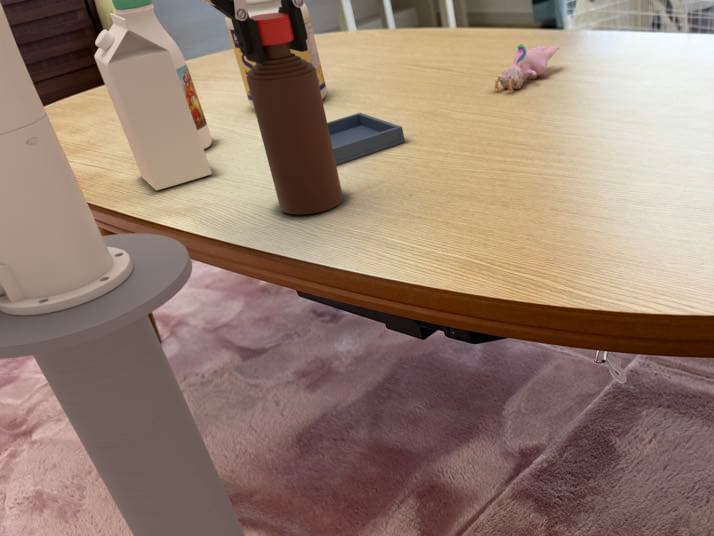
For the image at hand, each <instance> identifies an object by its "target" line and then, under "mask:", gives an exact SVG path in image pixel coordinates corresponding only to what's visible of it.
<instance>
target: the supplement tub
mask: <svg viewBox="0 0 714 536" xmlns="http://www.w3.org/2000/svg"><path fill="white" fill-rule="evenodd" d="M246 4H247V12H248V14H249V17H252V16H256V15H261V14H268V13H279V12H278V10H279V7H282V5H281V0H246ZM300 8H301V12H302V16H303V20H304V24H305V28H306V32H307V37H308V38H307V40H306V43H307V47H308V50H307V51H304V52H300V51H296V50H291V49H290V51H291V53H294V54H295V55H296V56H299V57H301V59H304V60H306V61H307V62H309V63H312V65H313V67H315V68H316V73H317V77H318V82H319V87H320V91H321V96H322V100H323V99H324V98H326V95H327V84H326V80H325V76H324V71H323V68H322V62H321V59H320V55H319V50H318V47H317V46H318V45H317V43H316V38H315V33H314V29H313V25H312V22H311V21H312V20H311V17H310V11H309V9H308V6H307V5H306V3H305V2H304V5H303V6H302V7H300ZM224 19H225V25H226V28H227V32H228V35H229V39H230V43H231V45H232V48H233V52H234V56H235V59H236V62H237V65H238V69H239V73H240V76H241V79H242V83H243V86H244V89H245V93H246V96H247V101H248V102H249V105H250V106H251V107H252V108H253V109H254V105H253V101H252V97H251V93H250V90H249V86H248V82H247V75H248V71H249V70H251V69H252V67H253V66H255V65H256V62H252V61H248V60H247V58H246V55H243V54H242V52H241V50H240V48H239V44H238V41H237V38H236V34H235V31H234V27H233V24H232V21H231V19H229V18H227V17H226V16H225V15H224Z"/></svg>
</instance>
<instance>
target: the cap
mask: <svg viewBox="0 0 714 536" xmlns="http://www.w3.org/2000/svg"><path fill="white" fill-rule="evenodd" d="M249 18H250V19H253V20H255V22H256V25H257V29H258V33H259V36H260V40H261V43H262V46H265V45H276V44H282V43H286V42H290V41H292V40H294V35H293V31H292V26H291V22H290V18H289V14H288V13H268V14H261V15H256V16H252V17H249Z"/></svg>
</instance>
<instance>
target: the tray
mask: <svg viewBox="0 0 714 536" xmlns="http://www.w3.org/2000/svg"><path fill="white" fill-rule="evenodd" d="M327 124H328V129H329V134H330V139H331V143H332V148H333V153H334V157H335V162H336V166H337V165H341V164H343V163H347V162H349V161H352V160H355V159H358V158H361V157H365V156H367V155H370V154H373V153H375V152H379V151H382V150H385V149H388V148H391V147H394V146H396V145H397V146H398V145H399V144H402V143H406V140H405V135H404V130H403V126H401V125H398V124H395V123H392V122H390V121H386V120H383V119H380V118H378V117H375V116H371V115H368V114H365V113H362V112H357V113H353V114H351V115H347V116H344V117H342V118H338V119H335V120H331V121H327Z"/></svg>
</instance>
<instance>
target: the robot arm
mask: <svg viewBox="0 0 714 536" xmlns="http://www.w3.org/2000/svg"><path fill="white" fill-rule="evenodd" d="M200 1H202V2H204V3H206V4H209V5H210V7H213V8H214V9H216V10H217V11H219V12H220V13H221V14H223V15H224V17H225V16H226V17H227V18H229V19H231V21H232V24H233V27H234V31H235V34H236V38H237V41H238V44H239V48H240V50H241V52H242V54H243V55H246V58H247V60H248V61H252V62H256V63H263V62H265V60H266V57H265V54H264V50H263V47H262V43H261V40H260V36H259V33H258V29H257V25H256V22H255V20H253V19H250V18H249V14H248V12H247V4H246V0H200ZM304 3H305V0H281V5H282V7H279V10H278V12H279V13H288V14H289V18H290V22H291V26H292V31H293V35H294V40H292V41H290V42H289V46H290V49H291V50H296V51H300V52H304V51H307V50H308V47H307V43H306V40H307V38H308V37H307V32H306V28H305V24H304V20H303V16H302V12H301V8H300V7H302V6H303V5H304ZM102 236H103V235H102V233H101V230H100V227H99V226H98V224H97V222H96V220H95V217H94V215H93V213H92V210H91V208H90V206H89V203H88V201H87V200H86V197H85V195H84V192H83V191H82V188H81V186H80V184H79V182H78V179H77V177H76V175H75V173H74V171H73V168H72V166H71V164H70V162H69V159H68V158H67V155H66V153H65V150H64V148H63V146H62V144H61V142H60V140H59V137H58V135H57V133H56V131H55V129H54V126H53V124H52V122H51V119H50V117H49V115H48V113H47V111H46V109H45V107H44V105H43V103H42V100H41V98H40V96H39V93H38V91H37V89H36V87H35V85H34V82H33V80H32V77H31V76H30V73H29V71H28V69H27V66H26V63H25V62H24V59H23V57H22V54H21V52H20V50H19V47H18V45H17V43H16V40H15V37H14V35H13V32H12V29H11V26H10V23H9V20H8V18H7V16H6V13H5V11H4V7H3V5H2V3H1V2H0V311H2V312H4V313H7V314H11V315H20V316H30V315H41V314H48V313H53V312H57V311H62V310H66V309H69V308H72V307H76V306H79V305H81V304H84V303H87V302H90V301H92V300H94V299H96V298H98V297H101V296H103V295H104V294H106V293H108V292H110V291H112V290H113V289H115V288H116V287H118V286H119V285H121V284H122V283H123V282H124V281H125V280H126V279H127V278H128V277H129V275H130V274H131V272H132V269H133V263H132V261H131V259H130V257H129V254H128V253H126V252H125V251H124V250H121V249H118V248H113V247H107V246H106V244H105V241H104V239H103V237H102Z"/></svg>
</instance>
